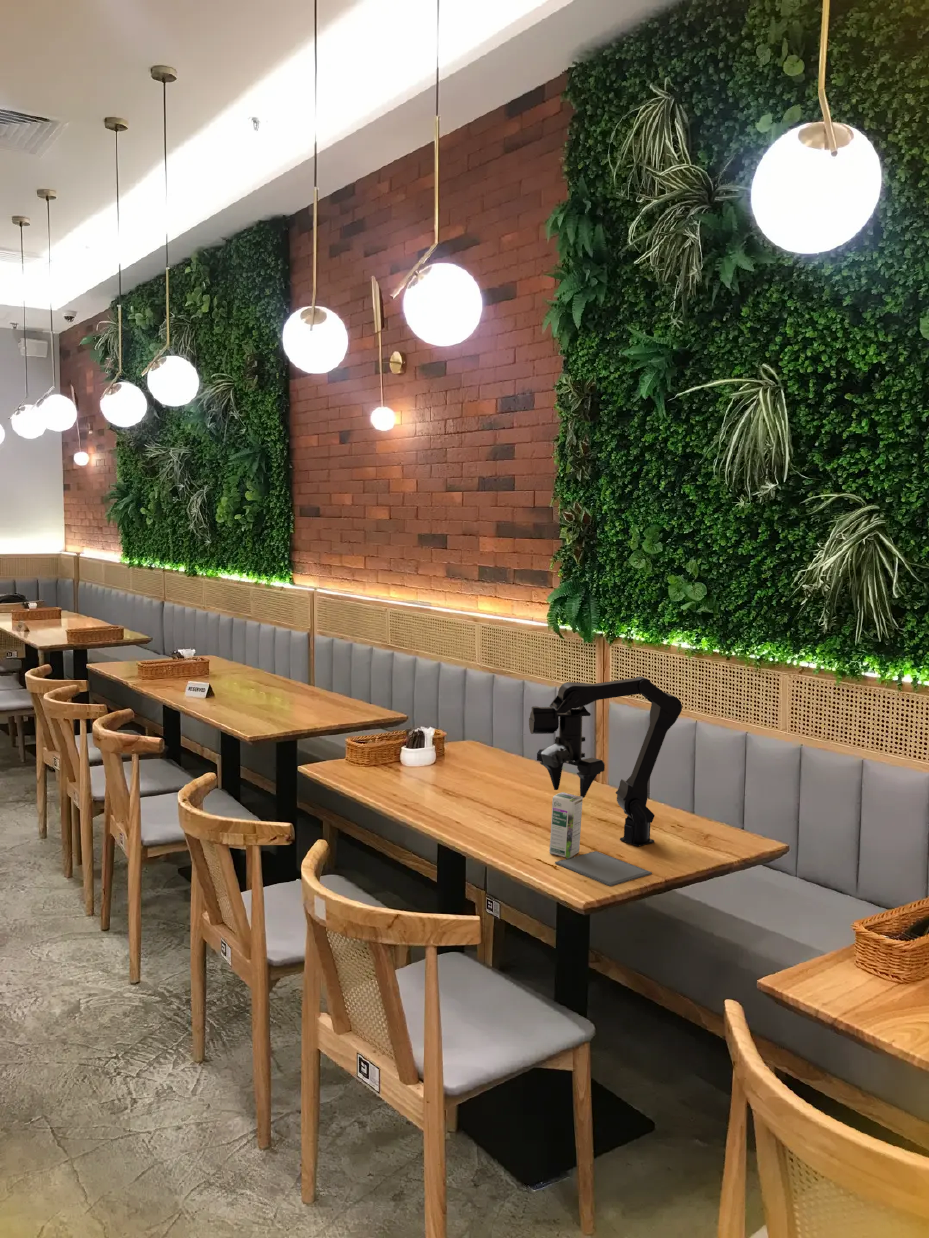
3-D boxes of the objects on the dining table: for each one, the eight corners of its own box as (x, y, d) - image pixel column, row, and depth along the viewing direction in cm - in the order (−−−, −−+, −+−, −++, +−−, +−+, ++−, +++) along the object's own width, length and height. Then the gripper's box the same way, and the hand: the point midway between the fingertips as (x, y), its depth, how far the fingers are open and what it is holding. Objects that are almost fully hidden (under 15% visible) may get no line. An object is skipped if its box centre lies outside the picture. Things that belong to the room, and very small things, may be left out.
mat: (596, 852, 237) (596, 850, 237) (651, 873, 223) (652, 871, 223) (554, 863, 228) (554, 861, 228) (610, 886, 214) (610, 884, 214)
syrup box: (548, 853, 235) (551, 796, 233) (559, 846, 240) (562, 790, 238) (569, 859, 232) (572, 801, 230) (580, 852, 237) (583, 795, 235)
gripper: (521, 730, 243) (520, 791, 244) (575, 743, 229) (573, 807, 230) (552, 725, 250) (551, 784, 252) (606, 737, 236) (605, 799, 237)
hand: (569, 793), depth 242 cm, fingers open, 9 cm apart
